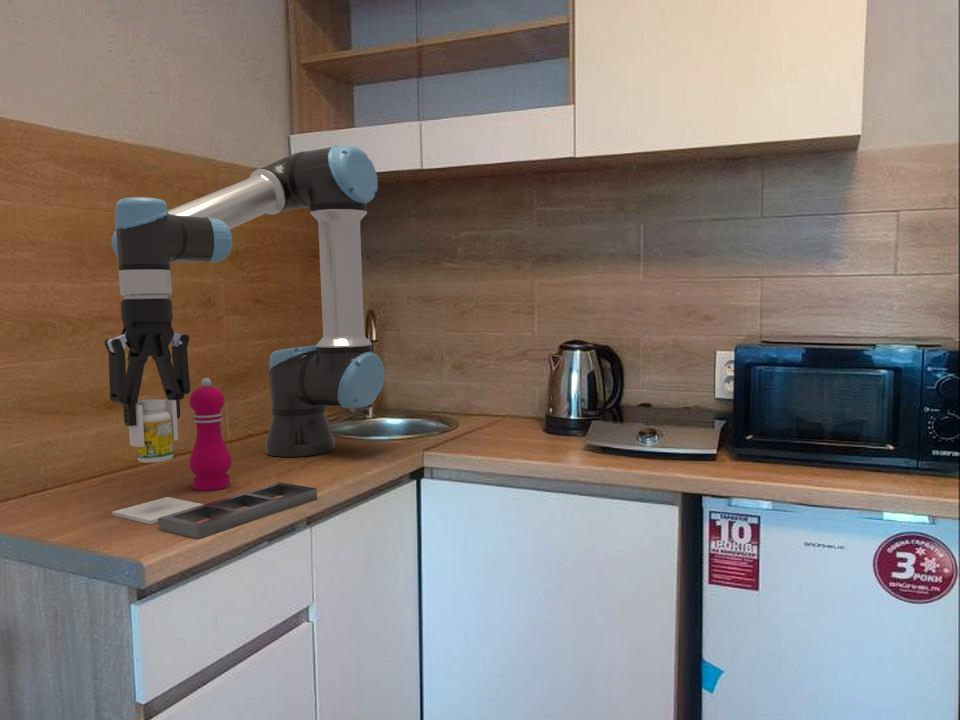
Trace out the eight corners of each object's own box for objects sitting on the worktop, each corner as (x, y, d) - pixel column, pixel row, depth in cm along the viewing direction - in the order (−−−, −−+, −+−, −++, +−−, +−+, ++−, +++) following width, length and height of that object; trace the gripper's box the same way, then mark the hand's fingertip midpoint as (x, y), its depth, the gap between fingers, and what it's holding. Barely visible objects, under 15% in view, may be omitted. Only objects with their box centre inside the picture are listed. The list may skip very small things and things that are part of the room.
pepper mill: (218, 479, 145) (212, 375, 143) (240, 485, 140) (234, 377, 139) (183, 487, 139) (176, 378, 138) (204, 493, 135) (198, 381, 133)
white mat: (167, 500, 131) (167, 496, 131) (205, 508, 126) (205, 504, 126) (112, 515, 123) (112, 511, 123) (150, 524, 117) (150, 520, 117)
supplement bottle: (180, 457, 124) (177, 399, 123) (152, 464, 120) (149, 403, 119) (158, 455, 127) (155, 397, 126) (129, 461, 122) (126, 401, 121)
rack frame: (279, 492, 135) (279, 482, 135) (317, 498, 130) (316, 488, 130) (158, 529, 115) (158, 517, 114) (197, 538, 110) (197, 526, 110)
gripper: (181, 297, 131) (188, 431, 133) (76, 298, 115) (85, 450, 117) (210, 296, 127) (217, 434, 129) (105, 298, 111) (114, 455, 113)
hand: (154, 442), depth 123 cm, fingers closed on supplement bottle, 5 cm apart
